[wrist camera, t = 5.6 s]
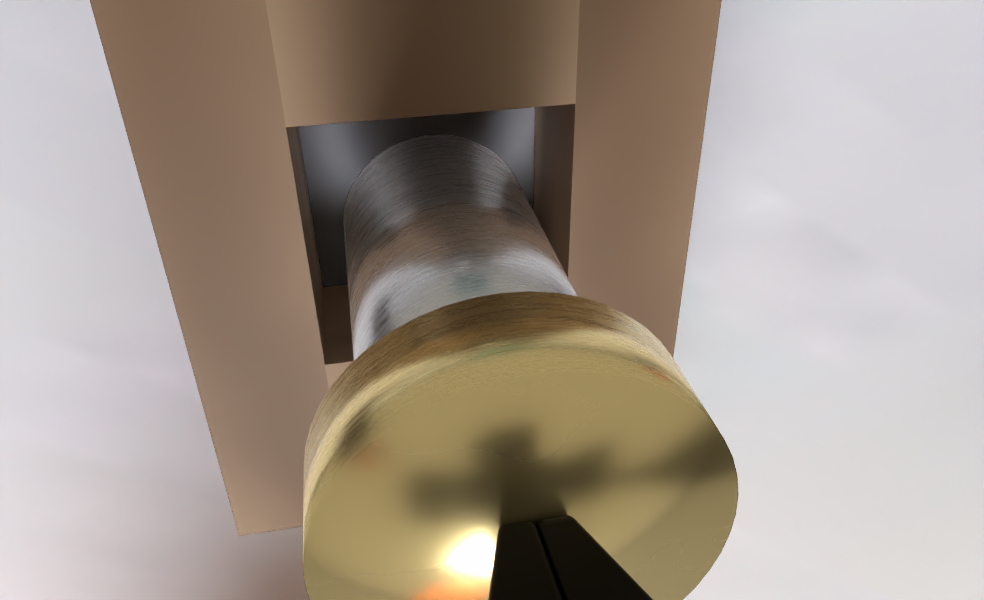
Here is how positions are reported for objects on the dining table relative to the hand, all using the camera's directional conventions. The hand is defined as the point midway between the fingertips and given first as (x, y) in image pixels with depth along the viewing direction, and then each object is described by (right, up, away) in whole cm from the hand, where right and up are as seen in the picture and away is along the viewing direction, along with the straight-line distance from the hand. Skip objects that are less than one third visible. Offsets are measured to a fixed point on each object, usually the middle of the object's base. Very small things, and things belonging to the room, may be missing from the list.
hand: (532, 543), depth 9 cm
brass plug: (-2, +4, +7) cm, 8 cm away
